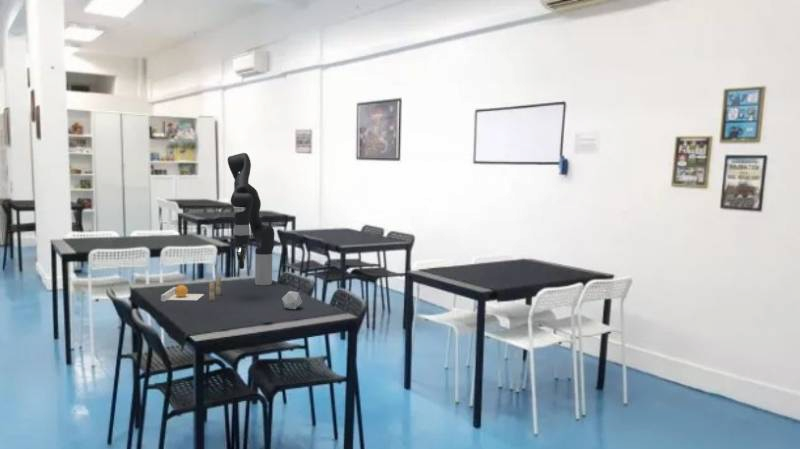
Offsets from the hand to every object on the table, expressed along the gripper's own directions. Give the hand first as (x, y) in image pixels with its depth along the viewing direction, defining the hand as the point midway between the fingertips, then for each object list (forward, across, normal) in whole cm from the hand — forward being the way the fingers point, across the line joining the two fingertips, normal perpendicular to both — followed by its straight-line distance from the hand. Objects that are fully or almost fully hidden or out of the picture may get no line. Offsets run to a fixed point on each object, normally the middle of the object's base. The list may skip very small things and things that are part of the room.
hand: (241, 268), depth 297 cm
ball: (+12, -1, -29) cm, 32 cm away
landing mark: (+15, -1, -27) cm, 31 cm away
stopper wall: (+15, -1, -35) cm, 38 cm away
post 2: (+15, -8, -13) cm, 21 cm away
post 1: (+15, +6, -13) cm, 21 cm away
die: (+15, +20, +27) cm, 37 cm away
